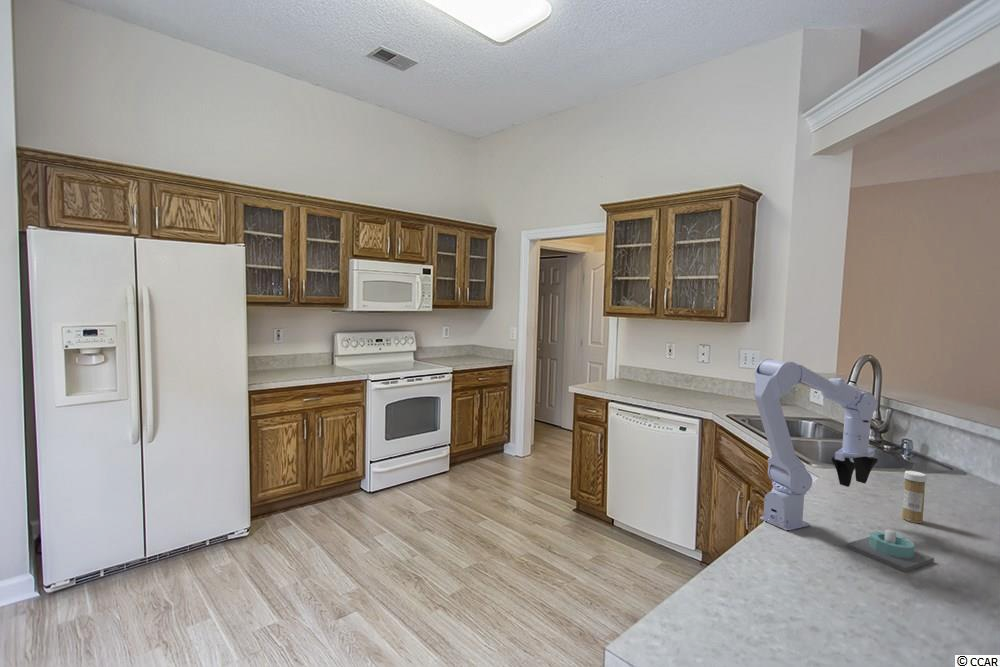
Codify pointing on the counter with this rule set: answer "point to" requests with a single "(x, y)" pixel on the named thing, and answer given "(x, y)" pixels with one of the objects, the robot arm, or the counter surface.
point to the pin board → (898, 563)
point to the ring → (892, 545)
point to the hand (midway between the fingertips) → (852, 483)
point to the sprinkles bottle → (914, 496)
